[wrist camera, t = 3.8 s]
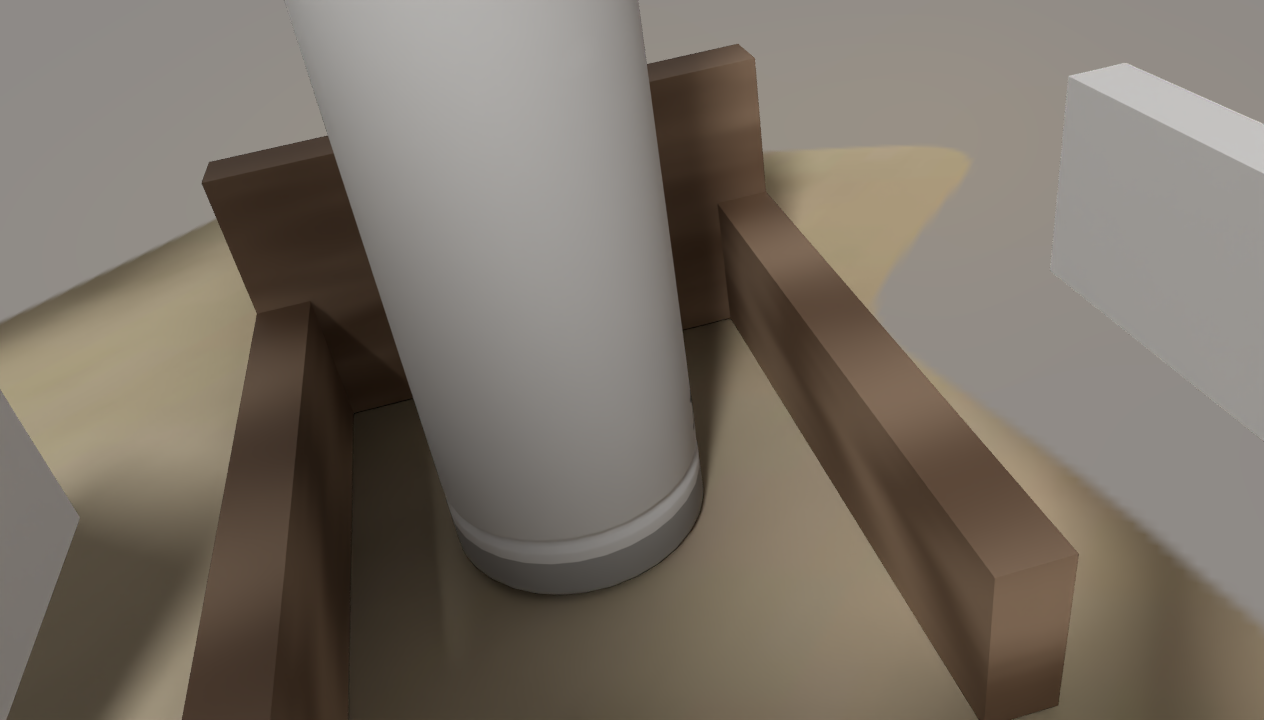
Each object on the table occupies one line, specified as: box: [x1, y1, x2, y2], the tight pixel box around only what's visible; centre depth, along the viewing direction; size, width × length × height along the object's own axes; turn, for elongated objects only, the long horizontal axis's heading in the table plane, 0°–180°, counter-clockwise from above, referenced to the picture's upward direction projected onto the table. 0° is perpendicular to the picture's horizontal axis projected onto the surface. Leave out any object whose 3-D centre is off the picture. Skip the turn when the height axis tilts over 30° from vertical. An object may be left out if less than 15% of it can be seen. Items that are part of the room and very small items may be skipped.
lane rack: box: [182, 44, 1079, 720], centre depth 23 cm, size 18×15×8 cm
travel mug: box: [284, 0, 703, 595], centre depth 20 cm, size 6×7×20 cm
